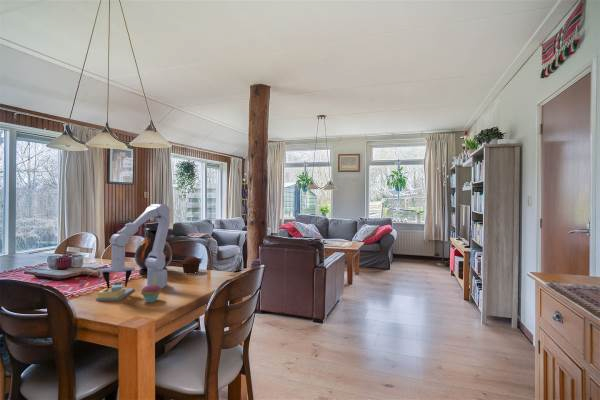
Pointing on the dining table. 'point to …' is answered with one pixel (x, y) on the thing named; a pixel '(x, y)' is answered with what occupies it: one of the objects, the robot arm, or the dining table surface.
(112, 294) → the dock
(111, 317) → the dining table surface
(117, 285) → the cart
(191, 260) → the muffin
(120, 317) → the dining table surface
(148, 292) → the cupcake
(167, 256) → the amphora vase
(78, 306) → the dining table surface
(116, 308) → the dining table surface
